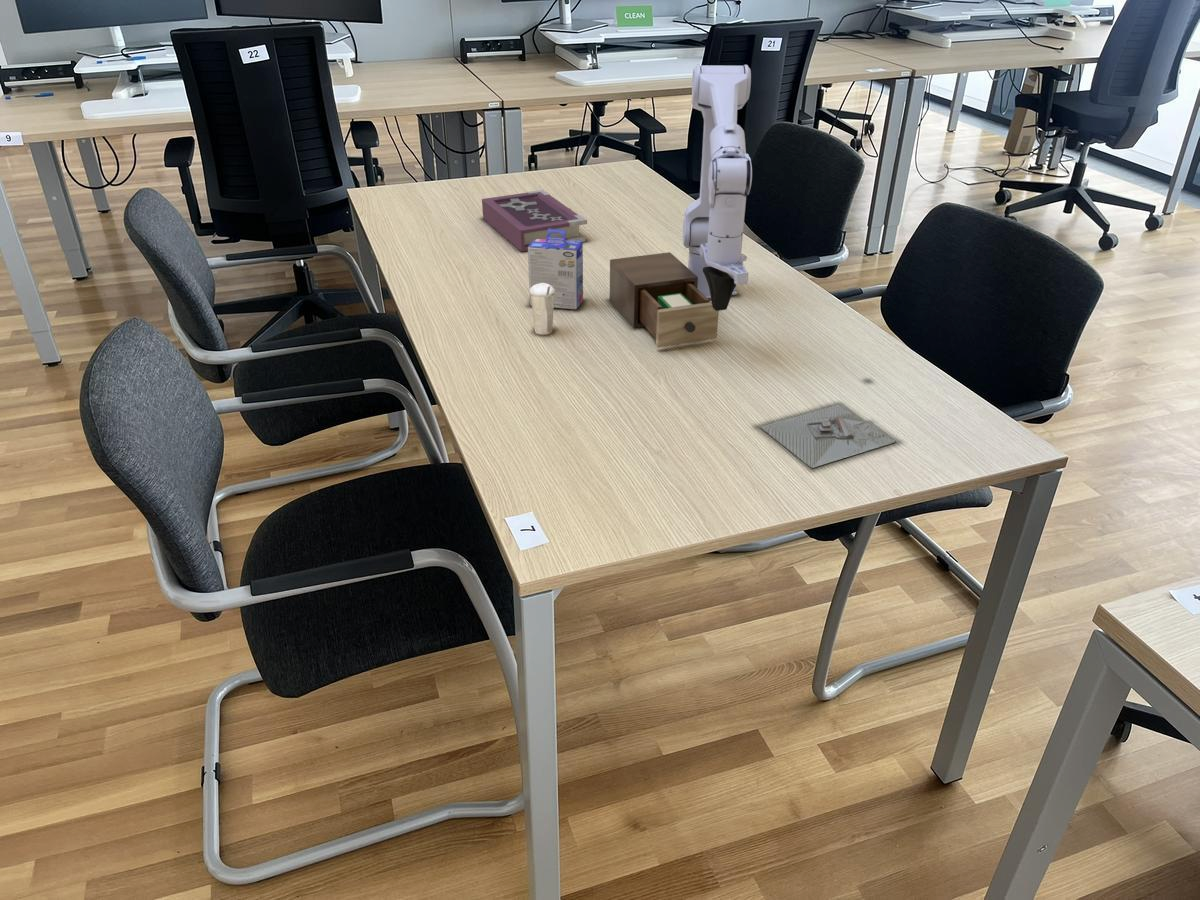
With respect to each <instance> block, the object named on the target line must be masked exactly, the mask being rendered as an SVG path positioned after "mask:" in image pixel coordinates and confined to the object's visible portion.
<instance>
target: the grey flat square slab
mask: <svg viewBox="0 0 1200 900" xmlns="http://www.w3.org/2000/svg"><path fill="white" fill-rule="evenodd" d="M759 428H760V429H762V430H763V431H764V432H766V433H767V435H769V436H770V437H772V438H773V439H774V440H776V441H777V442H778V443H779V444H781V446H783V447H784V448H786V450H788V451H790V452H791V453H792V454H793V455H795V456H796V457H797V458H798V459H799V460H801V461H802V462H803V463H805V464H806V465H807V466H808V467H810V469H814V468H818V467H820V466H823V465H827V464H830V463H833V462H836V461H840V460H842V459H846V458H849V457H853V456H856V455H858V454H862V453H865V452H868V451H872V450H875V449H878V448H881V447H884V446H887V445H890V444H894V443H896V442H897V441H895V440H894V439H893V438H891V436H889V435H887V434H885V433H884V432H882V431H881V430H880V429H878V428H877V427H876V426H874V425H872V424H870V423H869V422H868V421H863V420H862V419H861V418H859V417H858V416H856V415H855V414H853V413H852V412H850V411H849V410H847V409H846V408H844V407H843V406H842V405H840V404H834V405H830V406H828V407H824V408H820V409H817V410H813V411H810V412H806V413H803V414H799V415H796V416H792V417H789V418H785V419H782V420H778V421H775V422H771V423H768V424H764V425H760V426H759Z"/></svg>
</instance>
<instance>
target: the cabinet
mask: <svg viewBox="0 0 1200 900" xmlns="http://www.w3.org/2000/svg"><path fill="white" fill-rule="evenodd" d="M685 282H690V283H692V284H693V285H694V286H695V287H696V288H697V287H698V276H696V275H695V274H694V273H693V272H692V271H691V270H690V269H688V266H686V264H684V263H683V262H681V260H680V259H679V258H678V257H676V256H675V255H674V254H673V253H672V252H670V251H667V252H661V253H651V254H645V255H636V256H628V257H620V258H612V259H609V302H610V303H611V304H612V305H613V306H614V308H615V309H616V310H617V311H618V312H619V313H620V314H621V315H622V317H623V318H624V319H625V320H626V321H627V323H629V325H630V326H631V327H632V328H633V329H638V328H639V329H640V328H646V327H645V326H644V325H643V324H642V323H641V322H640V321H639V319H638V290H639V289H640V288H647V287H655V286H662V285H670V284H677V283H685Z"/></svg>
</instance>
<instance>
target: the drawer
mask: <svg viewBox="0 0 1200 900" xmlns="http://www.w3.org/2000/svg"><path fill="white" fill-rule="evenodd" d="M677 293H681V294H682V295H683V296H684V297H685V298H686V299H688V300H689V301H690V302H691V303H692V304H693V305H688V306H681V307H674V308H667V309H662V306H661V305H660V304H659V303H658V296H663V295H670V294H677ZM710 300H711V299H710V298H709V299H708V298H707V297H706V296H705V295H704V294H703V293H701V292H700V291H699V290H698V289H697V288H696V287H695V286H694V285H693V284H692V283H690V282H685V283H677V284H670V285H662V286H655V287H647V288H640V289H639V290H638V319H639V321H640V322H641V323H642V324H643V325H644V326H645V327H644V328H645V329H646V330H647V331H648V332H649V333H650V334H651V335H652V336H653V338H654V339H655V345H656V347H657V348H664V347H672V346H679V345H684V344H691V343H697V342H704V341H710V340H717V337H718V326H719V325H718V324H719V313H720V311H716V310H714V309H713V307H712V302H711V301H710Z"/></svg>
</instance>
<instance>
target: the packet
mask: <svg viewBox="0 0 1200 900" xmlns="http://www.w3.org/2000/svg"><path fill="white" fill-rule="evenodd" d="M658 303H659V304H660V305H661V306H662V309H667V308H674V307H681V306H688V305H693V304H692V303H691V302H690V301H689V300H688V299H686V298H685V297H684V296H683V295H682V294H681V293H677V294H670V295H663V296H658Z"/></svg>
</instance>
